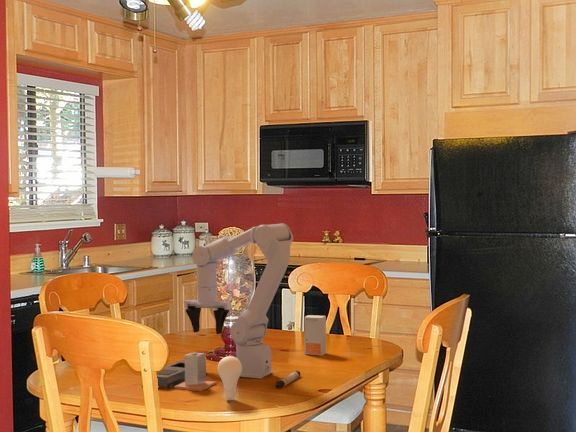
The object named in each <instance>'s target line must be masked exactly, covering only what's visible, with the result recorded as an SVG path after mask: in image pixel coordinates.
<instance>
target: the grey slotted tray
mask: <svg viewBox="0 0 576 432" xmlns="http://www.w3.org/2000/svg"><path fill="white" fill-rule="evenodd" d="M163 367H164V366H163ZM157 378H158V386H159V388H158V389H166V390H168V389H170V388H172V387H174V386H176V385H178V384H181V383H183V382H185V359H181V360H178V361H176V362H173V363H170V364H167V365H165V367H164V369H163V370H161V371H159V372H157Z"/></svg>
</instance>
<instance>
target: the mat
mask: <svg viewBox="0 0 576 432" xmlns="http://www.w3.org/2000/svg"><path fill="white" fill-rule="evenodd" d="M216 384H217V382H216V381H211V380H210V381H209V380H206V383H205V384H203V385H200V386H189V385H185V382H182V383H180V384H178V385H175V386H173V387H174V388H173V389H174V390H175V389H176V390H184V389H186V391H187V390H188V391H197V392H203V391H204V390H206V389H208V387H209V388H210V386H211V387H212V385H213V386H214V385H216Z"/></svg>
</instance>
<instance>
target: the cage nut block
mask: <svg viewBox="0 0 576 432" xmlns="http://www.w3.org/2000/svg"><path fill="white" fill-rule="evenodd" d="M184 360H185V385H189V386H200V385H203V384H205V383H206V381H207V375H206V373H207V366H206V365H207V362H206V353H205V352H195V351H194V352H193V351H192V352H189V353H186V354H184Z"/></svg>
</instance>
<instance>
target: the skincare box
mask: <svg viewBox="0 0 576 432" xmlns="http://www.w3.org/2000/svg"><path fill="white" fill-rule="evenodd" d="M303 321H304V325H303V326H304V327H303V328H304V330H303V331H304V335H303V336H304V337H303V338H304V347H303V348H304V351H303V352H304V355H310V356H321V357H323V356H324V355H325V354H327V316H326V315H313V314H309V315H305V316H304V319H303Z"/></svg>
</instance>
